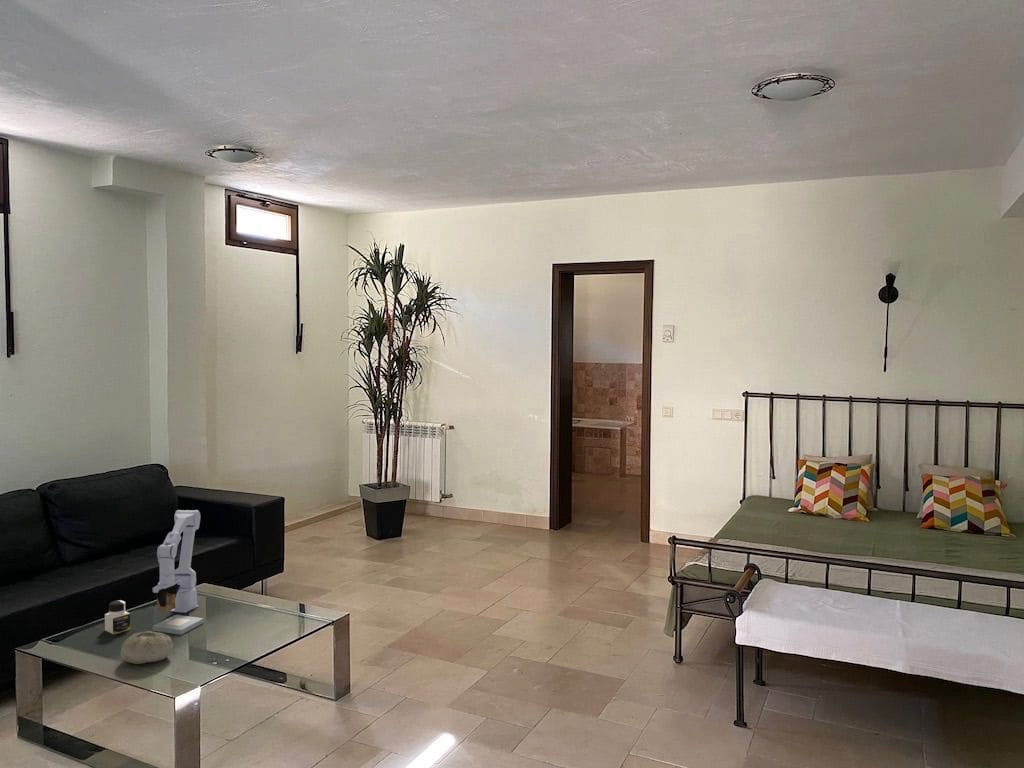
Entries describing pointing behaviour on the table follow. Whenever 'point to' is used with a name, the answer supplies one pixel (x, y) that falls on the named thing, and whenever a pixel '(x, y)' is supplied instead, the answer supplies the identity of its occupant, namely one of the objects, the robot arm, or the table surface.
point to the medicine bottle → (117, 618)
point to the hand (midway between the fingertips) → (167, 604)
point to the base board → (178, 624)
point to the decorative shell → (146, 647)
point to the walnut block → (167, 603)
